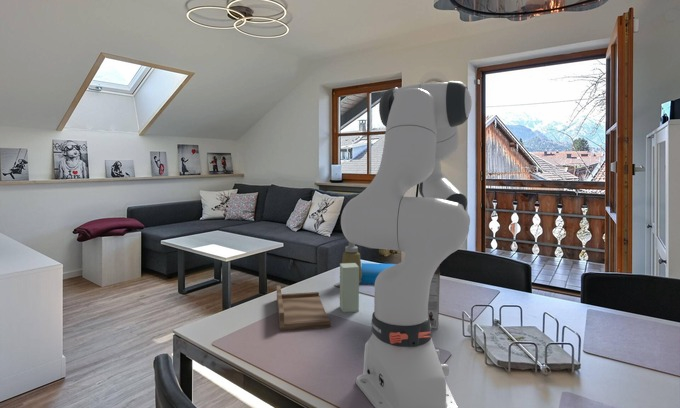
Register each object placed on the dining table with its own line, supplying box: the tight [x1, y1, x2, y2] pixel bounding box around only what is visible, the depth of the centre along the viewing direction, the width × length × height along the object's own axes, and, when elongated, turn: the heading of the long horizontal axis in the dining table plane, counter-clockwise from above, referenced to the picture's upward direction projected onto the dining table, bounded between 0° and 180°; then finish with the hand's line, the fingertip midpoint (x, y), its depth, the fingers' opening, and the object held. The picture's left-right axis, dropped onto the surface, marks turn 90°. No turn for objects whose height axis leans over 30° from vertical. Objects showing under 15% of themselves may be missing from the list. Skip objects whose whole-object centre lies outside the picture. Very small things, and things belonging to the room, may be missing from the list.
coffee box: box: [428, 265, 441, 329], centre depth 115 cm, size 9×6×16 cm
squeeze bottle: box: [341, 241, 362, 284], centre depth 149 cm, size 8×8×18 cm
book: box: [360, 262, 397, 284], centre depth 159 cm, size 17×4×25 cm
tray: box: [276, 284, 331, 332], centre depth 123 cm, size 25×14×5 cm, turn 11°
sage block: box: [339, 263, 360, 313], centre depth 125 cm, size 5×5×14 cm
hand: (381, 234), depth 125 cm, fingers open, 8 cm apart
